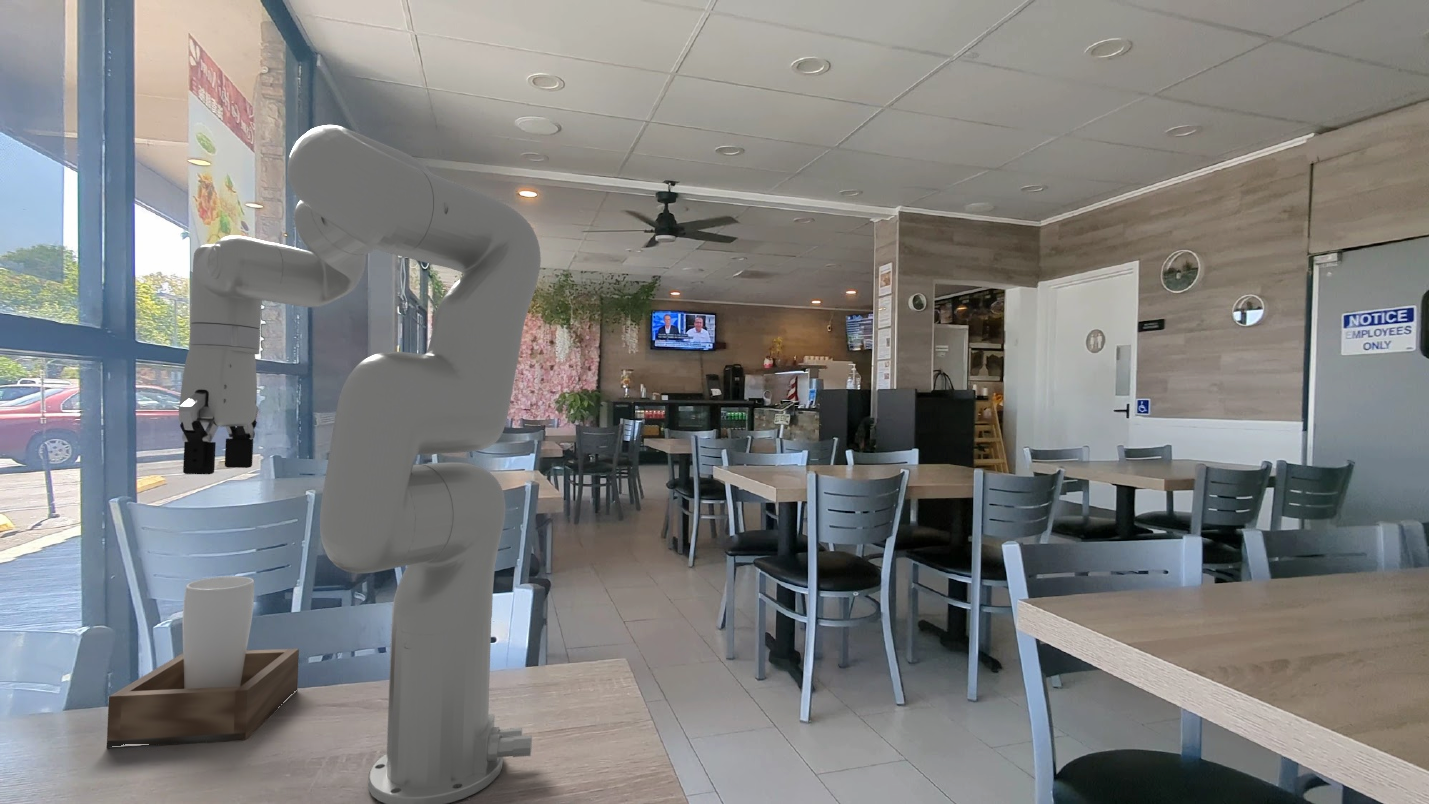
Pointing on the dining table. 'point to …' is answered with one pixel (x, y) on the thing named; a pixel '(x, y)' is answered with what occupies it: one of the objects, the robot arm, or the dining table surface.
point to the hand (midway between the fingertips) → (219, 470)
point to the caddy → (201, 703)
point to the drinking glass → (216, 630)
